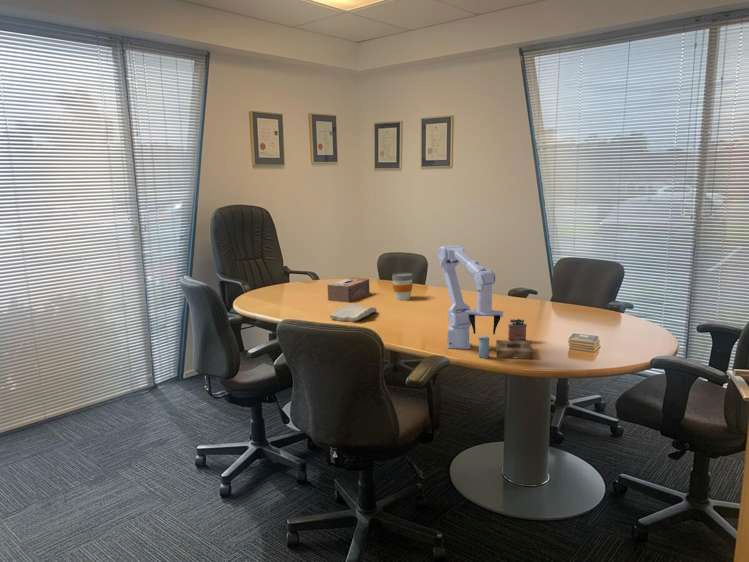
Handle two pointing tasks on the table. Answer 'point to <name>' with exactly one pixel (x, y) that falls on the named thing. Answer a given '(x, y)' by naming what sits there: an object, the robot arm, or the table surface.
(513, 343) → the socket block
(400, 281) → the reusable coffee cup
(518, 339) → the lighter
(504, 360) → the table surface
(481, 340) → the peg
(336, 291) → the tissue box cover
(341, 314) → the folded grey cloth
